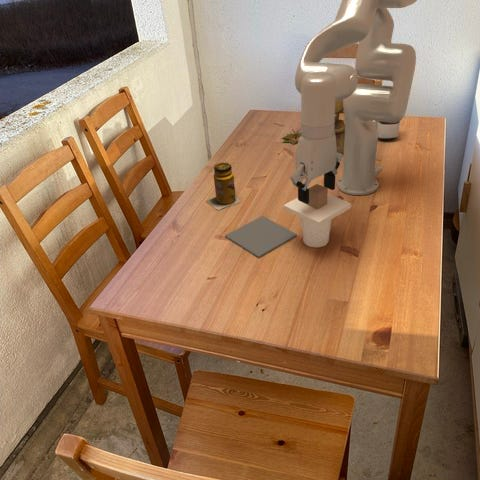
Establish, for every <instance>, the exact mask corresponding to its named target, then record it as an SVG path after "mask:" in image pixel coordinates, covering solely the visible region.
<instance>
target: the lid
mask: <svg viewBox="0 0 480 480" xmlns="http://www.w3.org/2000/svg"><path fill="white" fill-rule="evenodd" d="M307 189H309V203H308V204H305V203H303V202H301V201H299V200H298V197H295V198H294V199H293V200H290V201H288V202H287V203H285V204H283V210H285V211H286V212H289V213H291V214H293V215H295V216H297V217H299V218H302V219H304V220H306V221H308V222H310V223H312V224H314V225H316V226H318V227H319V226H321V225H322V224H324V223H326V222H327V221H329V220H331V221H332V220H333V219H334V218H336V217H338V216H339V215H342V214H343V213H345V212H346V211H348V210H349V209H351V208H352V203H350V202H349V201H346V200H344V199H342V198H339V197H337V196H334V195H332V194H331V193H328V190H329V189H328V188H326V187H324V185H321V184H318V183H316V184H314V185H311V186H310V187H308V188H307Z"/></svg>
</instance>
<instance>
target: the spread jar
mask: <svg viewBox="0 0 480 480" xmlns="http://www.w3.org/2000/svg"><path fill="white" fill-rule="evenodd" d="M373 122H374V123H375V125H376V128H377V131H378V140H377V141H382V142H391V141H394V140H396V139H397V138H398V137H399V133H400V132H399V131H400V126H401V125H400V124H401V123H400V122H401V121H399V122H395V123H392V122H382V121H374V120H373Z"/></svg>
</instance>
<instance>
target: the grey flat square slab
mask: <svg viewBox="0 0 480 480" xmlns="http://www.w3.org/2000/svg"><path fill="white" fill-rule="evenodd" d="M224 237H225V238H226V239H227V240H229V241H230V242H232V243H234V244H235V245H237V246H239V247H240V248H241V249H243V250H245V251H247V252H248V253H249V254H252V256H254V257H256V258H258V259H260V258H263V257H264V256H265V255H267V254H269V253H271V252H272V251H274V250H276V249H278V248H279V247H281V246H282V245H284V244H287V243H288V242H290V241H291V240H293V239H295V238H298V234H297V233H296V232H294V231H291V230H290V229H288V228H286V227H284V226H283V225H280V224H279V223H277V222H275V221H273V220H271V219H270V218H268V217H266V216H264V215H261V216H260V217H259V216H258V218H256V219H253V220H252V221H250V222H248V223H246V224H244V225H242V226H240V227H238V228H237V229H234V230H233V231H230V232H229V233H226V234H224Z"/></svg>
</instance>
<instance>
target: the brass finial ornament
mask: <svg viewBox="0 0 480 480" xmlns="http://www.w3.org/2000/svg"><path fill="white" fill-rule="evenodd" d="M342 112H344V109H343V100H340V101H337V102H335V125H334V132H335V136H336V147H337V152H338V153H341V154H342V156H344V139H345V120H344V119H339V118H340V113H342Z"/></svg>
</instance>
